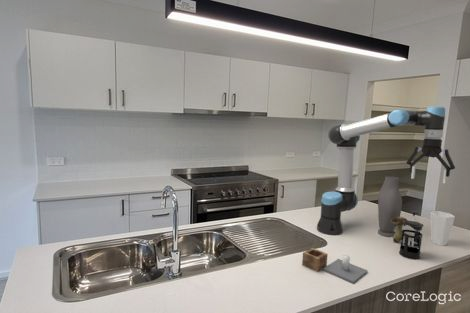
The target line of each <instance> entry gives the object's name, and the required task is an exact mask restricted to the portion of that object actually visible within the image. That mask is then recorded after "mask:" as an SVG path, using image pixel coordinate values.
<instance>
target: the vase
mask: <svg viewBox="0 0 470 313" xmlns="http://www.w3.org/2000/svg"><path fill="white" fill-rule="evenodd" d="M399 181H400V178H399V177H398V176H397V177H396V176H390V175H389V176H388V175H387V176H385V179H384V181H383V184H382V186H381V188H380V190H379V193H378V197H377V198H378V199H377V209H378V210H377V212H378V213H377V214H378V227H379V229H378V231H377V234H378V235H379V236H381V237H386V238H393V237H394V235H395V233H396V225H395V224H393V223H392V222H391V219H392V218H393V217H396V216H399V217H401V211H402V207H403V198H402V194H401V192H400V189H399V188H400V186H399V185H400V184H399V183H400V182H399Z"/></svg>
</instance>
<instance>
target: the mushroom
mask: <svg viewBox="0 0 470 313" xmlns="http://www.w3.org/2000/svg"><path fill="white" fill-rule="evenodd" d="M403 221H409V220H408V219H407V218H405V217H403V216H400V217H399V216H396V217H393V218H392V219H391V222H392V223H393V224H395V225H396V228H395V232H396V233H395V235H394V237H392V238H393V239H392V240H393V242H394V243H401V238H402V230H403V227H404V226H403V225H404V223H403Z"/></svg>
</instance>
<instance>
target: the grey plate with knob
mask: <svg viewBox="0 0 470 313" xmlns="http://www.w3.org/2000/svg"><path fill="white" fill-rule="evenodd" d="M350 261H351V256H349V255H346V254H343V255H342V259H340V258H337V259H336V260H334V261H333V262H331V263H329V264H327V266H326V267H324V268H323V269H322V271H323V272H326V273H328V274H330V275H333V276H335V277H337V278H339V279H342V280H344V281H346V282H348V283H351V284H353V285H354V284H355V283H356V282H357V281H359V280H360V279H361V278H362V277H363V276H365V275H367V274H368V269H365V268H362V267H359V266H358V265H355V264H353V263H350Z"/></svg>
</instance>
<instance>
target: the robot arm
mask: <svg viewBox="0 0 470 313" xmlns="http://www.w3.org/2000/svg"><path fill="white" fill-rule="evenodd" d="M445 118H446V108H445V107H444V106H428V107H427V108H426V110H405V109H401V108H400V109H395V110H393V111H392V112H389V113H385V114H382V115H378V116H375V117H371V118H367V119H363V120H360V121H356V122H353V123H349V124H346V123H343V124H338V125H334V126H332V127H331V128H329V130H328V136H327V137H328V139H329V141H330V142H331V143H332V144H335V145H336V148H337V149H338V171H337V173H338V174H337V175H338V176H337V178H338V179H337V187H336V188H335V190H334V191H326V192H324V193H322V195H321V208H320V217H319V220H318V222H317V225H316V230H317V231H318V232H319V233H321V234H324V235H331V236H338V235H342V234H343V232H344V231H343V230H344V227H343V224H342V221H341V217H342V213H343V212H347V211H351V210H353V209H355V208H356V207H357V205H358V203H359V197H358V195H357V194H356V192H355V191H356V190H355V189H354V188H353V182H354V181H353V178H354V176H353V174H354V173H353V172H354V151H355V149H356V148H357V144H358V142H359V141H360V140H361V136H363V135H366V134H372V133H374V132H380V131H384V130H387V129H392V128H397V127H401V126H407V127H409V126H411V127H412V126H413V127H414V126H416V127H424V135H423V137H424V139H423V143H422V147H419V146H416V147H415V148H414V151H413V153H412V154H411V155H410V157H409V158H408V160H407V161H406V165H409V173H410V172H411V175H410V177H411V178H410V179H411V180H412V179H413V180H414V179H415V176H416V164H417V163H419V161H421V160H422V159H423V158H425V157H427V158H433V159H434V158H436V159H438V161H439V162H440V163H441V165H442V166H443V167H444V170H443V176H442V184H446V182H447V178H449V177H450V176H451V175H450V173H451V171H452V170H455V169H456V166H455V164H454V162H453V160H452V157H451V155H450V149H447V148H446V149H442V143H443V139H442V138H443V134H444V126H445ZM419 152H422V154H420V155H419V156H418V155H417V154H418V153H419ZM441 153H442V154H443V155H444V156H445V158H446V161H447V162H448V163H447V162H446V161H445V160H444V158H443V156H441ZM416 156H418V157H417V158H416Z"/></svg>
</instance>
